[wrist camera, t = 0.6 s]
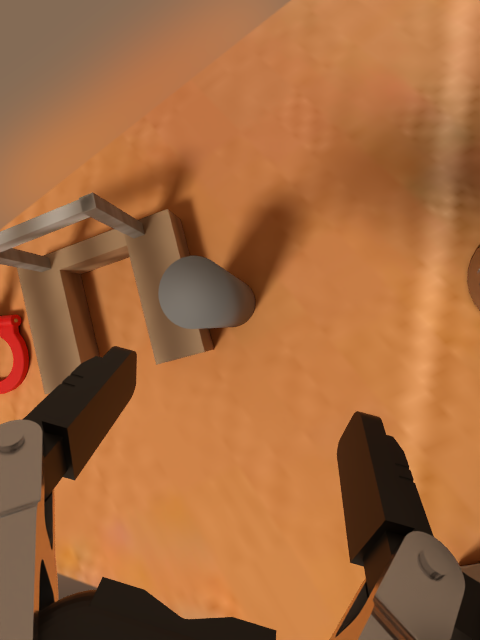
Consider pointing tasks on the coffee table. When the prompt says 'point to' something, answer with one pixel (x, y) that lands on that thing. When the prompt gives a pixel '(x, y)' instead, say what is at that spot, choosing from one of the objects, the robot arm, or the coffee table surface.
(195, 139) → the coffee table surface
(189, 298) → the grey tapered capsule
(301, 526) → the coffee table surface
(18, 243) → the wooden gate frame
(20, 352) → the tow hook
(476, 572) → the skincare box
